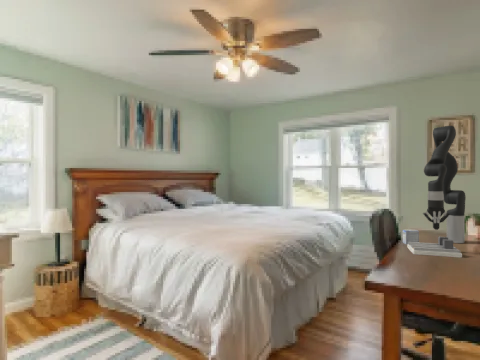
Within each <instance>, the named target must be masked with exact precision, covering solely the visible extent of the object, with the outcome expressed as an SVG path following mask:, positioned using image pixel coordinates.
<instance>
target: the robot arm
mask: <svg viewBox="0 0 480 360" xmlns="http://www.w3.org/2000/svg"><path fill="white" fill-rule="evenodd" d="M456 135H457V131H456V128H455V126H454V125H444V126H438V127H435V128H433V130H432V137H433V142H434V145H435V148H434V150H433V152H432V154H431V158H430V159H429V160H428V161H427V163H426V165H425V166H424V169H423V172H424V175H425V176H426V177H437V178H436V179H435V180H429V181H428V182H427V191H428V192H427V210H426V211H425V212H423V213H422V215H423V216H424V217H425V218H426V219H427V221H428V222H431V223H432V228H433V230H435V231H437V230H439V229H440V223H444V222H445V221H446V237H448V240H453V244H454V243H455V244H465V241H466V240H465V238H466V237H465V229H466V228H465V213H466V193H465V192H466V191H464V190H458V189H451V186H452V181H453V180H454V178H455V177H456V175H457V174H458V170H459V168H458V162H457V159H456V158H455V157H454V156H453V154H451V153H450V152H449V150H450V148H451V147H452V145H453V143H454V142H455V141H454V140H455V139H456ZM444 204H447V205H455V207H454V208H450V209H447V210H445V205H444ZM429 215H430V216H431V217H430V216H429Z"/></svg>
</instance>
